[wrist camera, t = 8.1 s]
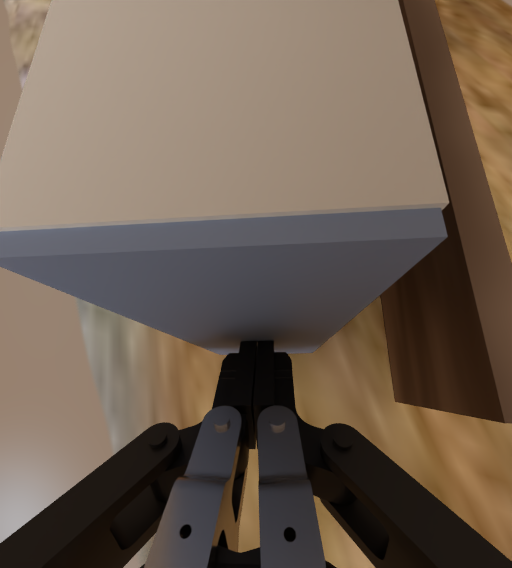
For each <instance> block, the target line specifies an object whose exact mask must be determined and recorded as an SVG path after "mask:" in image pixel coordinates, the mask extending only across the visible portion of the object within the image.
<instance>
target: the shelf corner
mask: <svg viewBox="0 0 512 568" xmlns="http://www.w3.org/2000/svg"><path fill="white" fill-rule="evenodd" d="M398 2H399V6H400V10H401V14H402V18H403V22H404V26H405V29H406V33H407V37H408V41H409V45H410V49H411V53H412V57H413V61H414V65H415V69H416V73H417V77H418V81H419V85H420V89H421V93H422V97H423V101H424V104H425V108H426V112H427V116H428V120H429V124H430V128H431V132H432V136H433V140H434V144H435V148H436V152H437V156H438V160H439V164H440V168H441V172H442V176H443V180H444V183H445V187H446V191H447V195H448V199H449V204H448V205H447V206H446V207H445V208H444V209H443V210H442V215H443V219H444V223H445V228H446V232H447V236H448V237H447V238H446V239H445V240H443V241H442V242H441V243H440V244H439V245H438V246H436V247H435V248H434V249H433V250H432V251H431V252H429V253H428V254H427V255H426V256H425V257H424V258H422V259H421V260H420V261H419V262H418V263H417V264H415V265H414V266H413V267H412V268H411V269H410V270H408V271H407V272H406V273H405V274H404V275H403V276H402V277H400V278H399V279H398V280H397V281H396V282H395V283H393V284H392V285H391V286H390V287H389V288H388V289H386V290H385V291H384V292H383V293H382V294H381V301H382V309H383V316H384V323H385V330H386V338H387V345H388V352H389V360H390V367H391V374H392V381H393V389H394V396H395V402H399V403H404V404H409V405H414V406H420V407H425V408H430V409H435V410H440V411H445V412H450V413H455V414H460V415H466V416H471V417H476V418H481V419H486V420H491V421H496V422H501V423H512V263H511V260H510V256H509V253H508V250H507V246H506V243H505V239H504V236H503V233H502V229H501V226H500V222H499V219H498V215H497V212H496V209H495V205H494V202H493V198H492V195H491V192H490V188H489V185H488V181H487V178H486V175H485V171H484V168H483V164H482V161H481V157H480V154H479V151H478V147H477V144H476V140H475V137H474V134H473V130H472V127H471V123H470V120H469V116H468V113H467V110H466V106H465V103H464V99H463V96H462V93H461V89H460V86H459V82H458V79H457V75H456V72H455V69H454V65H453V62H452V58H451V55H450V52H449V48H448V45H447V41H446V38H445V34H444V31H443V28H442V24H441V21H440V17H439V14H438V11H437V7H436V4H435V0H398Z"/></svg>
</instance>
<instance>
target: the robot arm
mask: <svg viewBox="0 0 512 568" xmlns="http://www.w3.org/2000/svg"><path fill="white" fill-rule="evenodd" d="M256 441H257V449H258V459H259V520H260V548H256V549H253V550H250V551H246V552H242V553H238V543H239V525H240V518H241V511H242V505H243V498H244V491H245V484H246V478H247V470H248V467H247V465H248V457H249V449H256ZM313 495H314V496H317V497H319V498H320V500H321V502H322V503H323V505H324V506H325V507H326V509H327V510H328V511H329V512H330V513H331V515H332V516H333V517H334V518H335V519H336V521H337V522H338V523H339V524H340V525H341V527H342V528H343V529H344V530H345V531H346V533H347V534H348V535H349V536H350V537H351V539H352V540H353V541H354V542H355V543H356V545H357V546H358V547H359V548H360V549H361V551H362V552H363V553H364V554H365V555H366V557H367V558H368V559H369V560H370V561H371V563H372V564H373V565H374V566H375V567H376V568H512V561H510V560H509V559H508V558H507V557H506V556H505V555H503V554H502V553H501V552H500V551H499V550H497V549H496V548H495V547H494V546H493V545H492V544H490V543H489V542H488V541H487V540H486V539H484V538H483V537H482V536H481V535H480V534H479V533H477V532H476V531H475V530H474V529H473V528H471V527H470V526H469V525H468V524H467V523H466V522H464V521H463V520H462V519H461V518H460V517H459V516H457V515H456V514H455V513H454V512H453V511H451V510H450V509H449V508H448V507H447V506H446V505H444V504H443V503H442V502H441V501H440V500H438V499H437V498H436V497H435V496H434V495H433V494H431V493H430V492H429V491H428V490H427V489H425V488H424V487H423V486H422V485H421V484H420V483H418V482H417V481H416V480H415V479H414V478H412V477H411V476H410V475H409V474H408V473H407V472H405V471H404V470H403V469H402V468H401V467H399V466H398V465H397V464H396V463H395V462H394V461H392V460H391V459H390V458H389V457H388V456H386V455H385V454H384V453H383V452H382V451H381V450H379V449H378V448H377V447H376V446H375V445H373V444H372V443H371V442H370V441H369V440H368V439H366V438H365V437H364V436H363V435H362V434H360V433H359V432H358V431H357V430H356V429H354V428H353V427H351V426H349V425H346V424H341V423H336V424H331V425H329V426H327V427H326V428H325V429H321V428H317V427H314V426H311V425H309V424H307V423H306V422H304V421H303V420H302V419H301V418H300V417H299V416H298V414H297V412H296V408H295V398H294V386H293V374H292V362H291V359H290V357H289V356H288V354H287V353H286V352H274V341H258V344H257V341H241V342H240V348H239V353H229V354H228V355H227V356H226V358H225V359H224V360H223V362H222V367H221V372H220V376H219V380H218V385H217V389H216V393H215V398H214V402H213V407H212V410H210V411H209V412H208V413H207V414H206V415H205V417H204V419H203V421H202V422H200V423H199V424H197V425H194V426H192V427H188V428H185V429H182V430H178V429H177V427H176V426H175V425H173V424H171V423H158V424H155V425H153V426H151V427H150V428H148V429H147V430H146V431H144V432H143V433H142V434H140V435H139V436H138V437H137V438H135V439H134V440H133V441H131V442H130V443H129V444H128V445H126V446H125V447H124V448H122V449H121V450H120V451H119V452H117V453H116V454H115V455H113V456H112V457H111V458H110V459H108V460H107V461H106V462H104V463H103V464H102V465H101V466H99V467H98V468H97V469H95V470H94V471H93V472H92V473H90V474H89V475H88V476H86V477H85V478H84V479H83V480H81V481H80V482H79V483H77V484H76V485H75V486H74V487H72V488H71V489H70V490H68V491H67V492H66V493H65V494H63V495H62V496H61V497H59V498H58V499H57V500H56V501H54V502H53V503H52V504H50V505H49V506H48V507H47V508H45V509H44V510H43V511H41V512H40V513H39V514H38V515H36V516H35V517H34V518H32V519H31V520H30V521H29V522H27V523H26V524H25V525H23V526H22V527H21V528H20V529H18V530H17V531H16V532H14V533H13V534H12V535H11V536H9V537H8V538H7V539H5V540H4V541H3V542H2V543H0V568H123V567H124V566H125V565H126V564H127V563H128V562H129V561H130V560H131V558H132V557H133V556H134V555H135V554H136V553H137V552H138V551H139V550H140V549H141V548H142V547H143V546H144V545H145V544H146V543H147V542H148V540H149V539H150V538H151V537H152V536H153V535H154V534H155V533H156V532H157V533H156V535H155V538H154V541H153V544H152V547H151V549H150V552H149V555H148V558H147V561H146V563H145V564H144V565H143V566H141V567H140V568H336V567H335V566H333V565H332V564H331V563H329V562H327V561H325V558H324V553H323V547H322V542H321V536H320V531H319V525H318V520H317V514H316V509H315V503H314V498H313Z"/></svg>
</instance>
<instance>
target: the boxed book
mask: <svg viewBox="0 0 512 568" xmlns="http://www.w3.org/2000/svg"><path fill="white" fill-rule="evenodd" d="M448 204H449V199H448V195H447V191H446V187H445V183H444V180H443V176H442V172H441V168H440V164H439V160H438V156H437V152H436V148H435V144H434V140H433V136H432V132H431V128H430V124H429V120H428V116H427V112H426V108H425V104H424V101H423V97H422V93H421V89H420V85H419V81H418V77H417V73H416V69H415V65H414V61H413V57H412V53H411V49H410V45H409V41H408V37H407V33H406V29H405V26H404V22H403V18H402V14H401V10H400V6H399V2H398V0H52V1H51V4H50V7H49V10H48V13H47V16H46V19H45V23H44V26H43V29H42V32H41V35H40V38H39V41H38V44H37V48H36V51H35V54H34V57H33V60H32V63H31V66H30V69H29V73H28V76H27V79H26V82H25V85H24V88H23V91H22V94H21V98H20V101H19V104H18V107H17V110H16V113H15V116H14V119H13V123H12V126H11V129H10V132H9V135H8V138H7V141H6V144H5V147H4V151H3V154H2V157H1V160H0V267H2V268H5V269H7V270H10V271H12V272H15V273H17V274H20V275H22V276H25V277H27V278H30V279H33V280H35V281H38V282H40V283H42V284H45V285H47V286H50V287H52V288H55V289H57V290H60V291H62V292H65V293H67V294H70V295H72V296H75V297H77V298H80V299H82V300H85V301H87V302H90V303H92V304H95V305H97V306H100V307H102V308H105V309H107V310H110V311H112V312H115V313H117V314H120V315H122V316H125V317H127V318H130V319H132V320H135V321H137V322H140V323H142V324H145V325H147V326H150V327H152V328H155V329H157V330H160V331H162V332H165V333H167V334H170V335H172V336H175V337H177V338H180V339H182V340H185V341H187V342H189V343H192V344H194V345H197V346H199V347H202V348H204V349H207V350H209V351H212V352H214V353H217V354H219V355H228V354H229V353H239V348H240V342H241V341H257V344H258V341H274V352H286V353H313V352H314V351H315V350H316V349H318V348H319V347H320V346H321V345H322V344H323V343H325V342H326V341H327V340H328V339H329V338H330V337H332V336H333V335H334V334H335V333H336V332H337V331H339V330H340V329H341V328H342V327H343V326H344V325H346V324H347V323H348V322H349V321H350V320H351V319H353V318H354V317H355V316H356V315H357V314H358V313H360V312H361V311H362V310H363V309H364V308H365V307H367V306H368V305H369V304H370V303H371V302H372V301H374V300H375V299H376V298H377V297H378V296H379V295H381V294H382V293H383V292H384V291H385V290H386V289H388V288H389V287H390V286H391V285H392V284H393V283H395V282H396V281H397V280H398V279H399V278H400V277H402V276H403V275H404V274H405V273H406V272H407V271H408V270H410V269H411V268H412V267H413V266H414V265H415V264H417V263H418V262H419V261H420V260H421V259H422V258H424V257H425V256H426V255H427V254H428V253H429V252H431V251H432V250H433V249H434V248H435V247H436V246H438V245H439V244H440V243H441V242H442V241H443V240H445V239H446V238H447V237H448V236H447V232H446V228H445V223H444V219H443V215H442V210H443V209H444V208H445V207H446V206H447V205H448Z"/></svg>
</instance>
